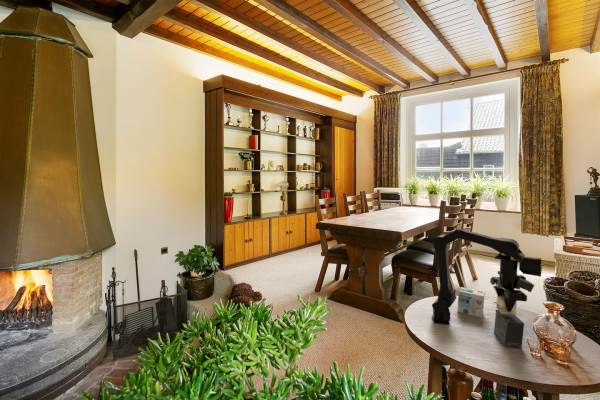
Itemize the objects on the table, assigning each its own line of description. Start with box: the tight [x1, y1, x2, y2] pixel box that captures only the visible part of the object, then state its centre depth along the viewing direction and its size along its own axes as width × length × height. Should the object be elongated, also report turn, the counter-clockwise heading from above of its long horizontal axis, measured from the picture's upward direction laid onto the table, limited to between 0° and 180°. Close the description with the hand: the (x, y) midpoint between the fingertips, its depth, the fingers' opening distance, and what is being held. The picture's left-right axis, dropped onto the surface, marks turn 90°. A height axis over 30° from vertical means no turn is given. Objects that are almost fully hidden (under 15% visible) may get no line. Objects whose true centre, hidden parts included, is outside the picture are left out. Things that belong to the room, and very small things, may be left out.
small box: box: [493, 309, 525, 349], centre depth 121 cm, size 11×6×10 cm, turn 168°
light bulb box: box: [456, 286, 486, 319], centre depth 145 cm, size 11×7×11 cm, turn 55°
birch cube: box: [496, 296, 518, 316], centre depth 121 cm, size 5×5×5 cm
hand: (506, 308), depth 121 cm, fingers closed on birch cube, 5 cm apart
